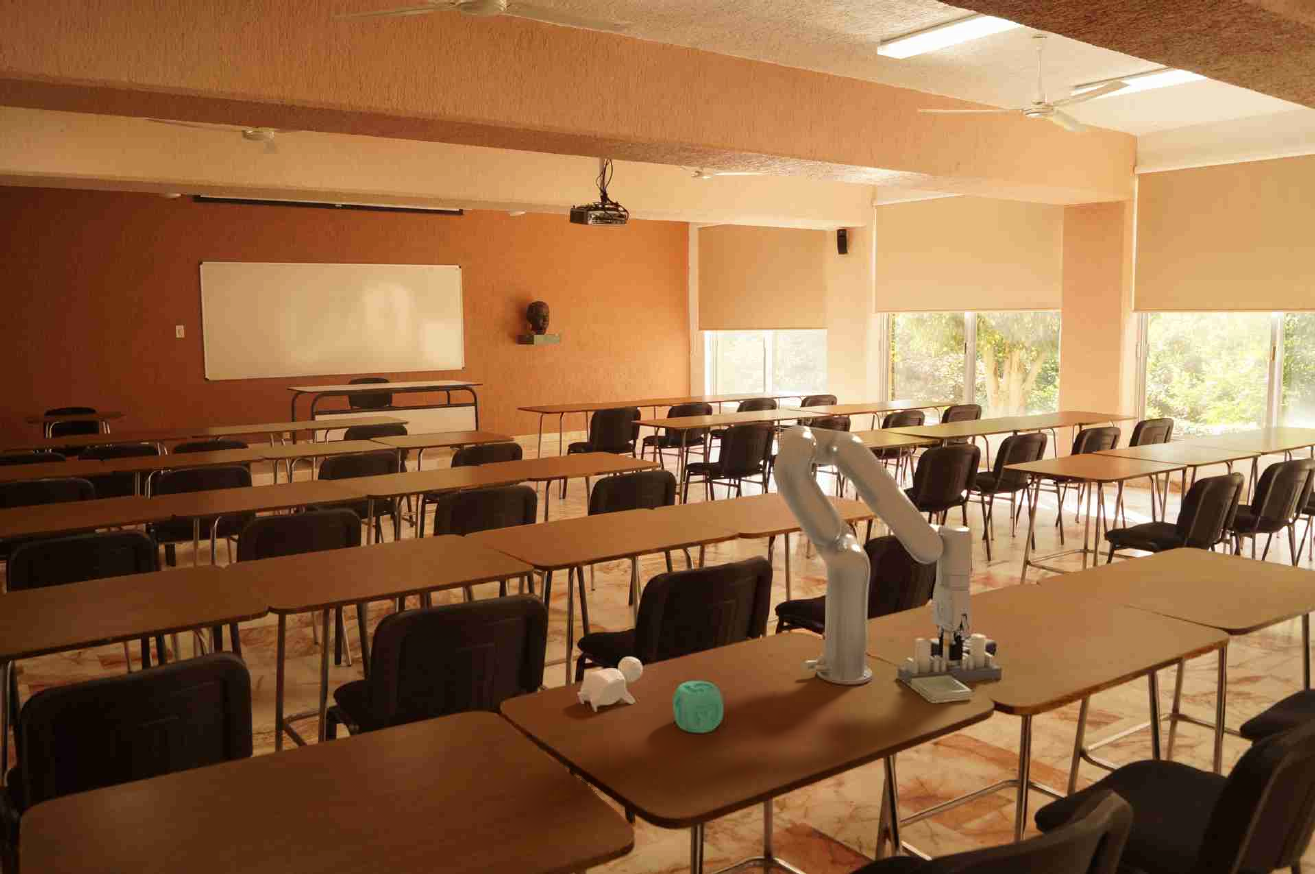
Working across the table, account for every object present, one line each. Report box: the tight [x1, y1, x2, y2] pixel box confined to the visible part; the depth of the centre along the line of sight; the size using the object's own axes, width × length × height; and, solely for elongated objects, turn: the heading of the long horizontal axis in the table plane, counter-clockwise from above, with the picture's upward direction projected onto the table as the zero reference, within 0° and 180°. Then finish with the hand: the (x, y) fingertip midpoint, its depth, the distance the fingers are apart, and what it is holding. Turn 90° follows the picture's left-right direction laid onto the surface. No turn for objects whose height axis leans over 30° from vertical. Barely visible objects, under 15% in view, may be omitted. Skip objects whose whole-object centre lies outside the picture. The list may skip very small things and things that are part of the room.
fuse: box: [943, 628, 960, 670], centre depth 225 cm, size 3×3×10 cm
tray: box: [910, 675, 973, 702], centre depth 216 cm, size 9×9×2 cm
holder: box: [897, 633, 1003, 685], centre depth 225 cm, size 23×6×10 cm, turn 104°
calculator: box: [929, 633, 997, 658], centre depth 242 cm, size 11×4×15 cm
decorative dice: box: [672, 680, 724, 734], centre depth 199 cm, size 8×8×8 cm
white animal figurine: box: [577, 656, 644, 712], centre depth 212 cm, size 9×8×15 cm
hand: (950, 656), depth 225 cm, fingers open, 3 cm apart
